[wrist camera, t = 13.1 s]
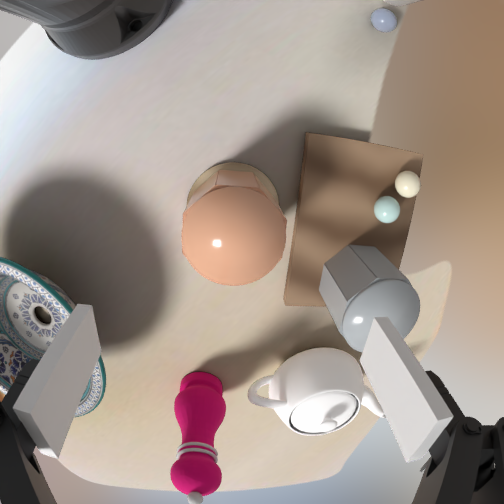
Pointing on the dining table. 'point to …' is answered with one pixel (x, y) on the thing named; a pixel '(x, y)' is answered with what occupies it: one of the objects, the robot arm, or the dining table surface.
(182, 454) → the pepper mill
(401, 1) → the dixie cup
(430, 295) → the dining table surface
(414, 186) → the marble
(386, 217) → the marble
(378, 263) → the grey faceted canister
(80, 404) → the bowl
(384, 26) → the marble
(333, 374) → the teapot
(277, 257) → the peach faceted canister
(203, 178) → the coaster
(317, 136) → the board
